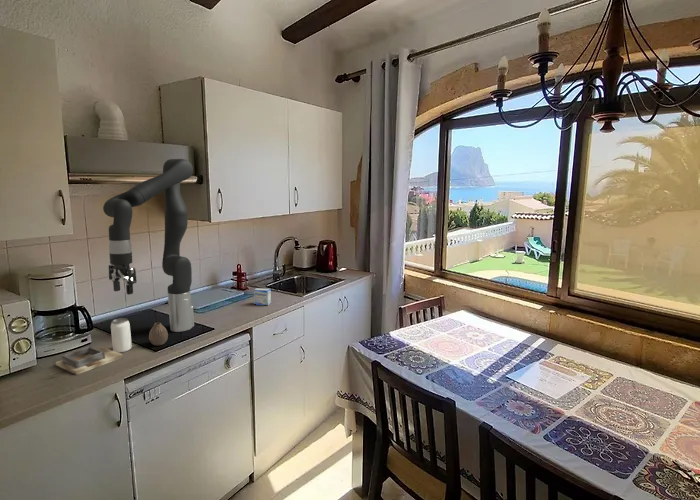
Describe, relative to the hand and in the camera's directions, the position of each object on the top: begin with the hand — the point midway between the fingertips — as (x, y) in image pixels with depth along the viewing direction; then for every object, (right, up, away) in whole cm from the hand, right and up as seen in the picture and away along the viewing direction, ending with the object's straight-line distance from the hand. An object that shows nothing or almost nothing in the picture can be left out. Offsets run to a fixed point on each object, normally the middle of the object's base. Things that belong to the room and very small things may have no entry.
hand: (123, 292), depth 154 cm
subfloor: (-7, -24, -8) cm, 27 cm away
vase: (+10, -22, +8) cm, 26 cm away
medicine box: (+41, -13, +61) cm, 75 cm away
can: (-1, -23, +2) cm, 23 cm away
